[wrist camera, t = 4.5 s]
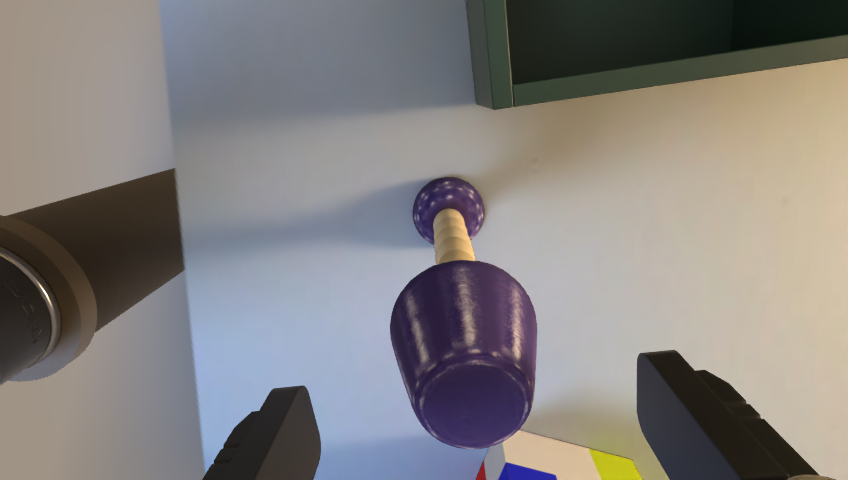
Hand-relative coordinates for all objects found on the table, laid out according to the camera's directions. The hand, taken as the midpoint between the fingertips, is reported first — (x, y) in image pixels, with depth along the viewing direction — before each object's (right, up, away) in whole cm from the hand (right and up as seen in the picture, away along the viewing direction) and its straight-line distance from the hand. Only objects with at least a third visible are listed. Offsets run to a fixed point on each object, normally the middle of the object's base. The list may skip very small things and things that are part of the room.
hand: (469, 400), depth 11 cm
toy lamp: (0, +5, +16) cm, 17 cm away
